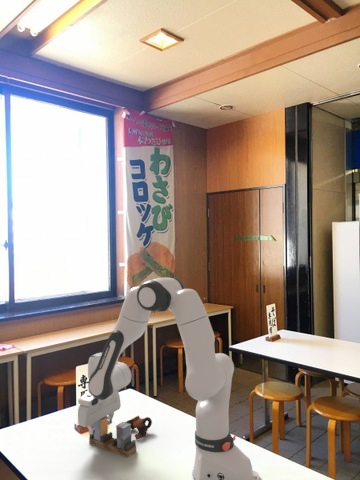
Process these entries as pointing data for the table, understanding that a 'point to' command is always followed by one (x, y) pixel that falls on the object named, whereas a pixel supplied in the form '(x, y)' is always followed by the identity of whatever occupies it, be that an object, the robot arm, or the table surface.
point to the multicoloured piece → (100, 428)
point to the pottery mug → (140, 426)
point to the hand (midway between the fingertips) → (100, 428)
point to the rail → (109, 447)
